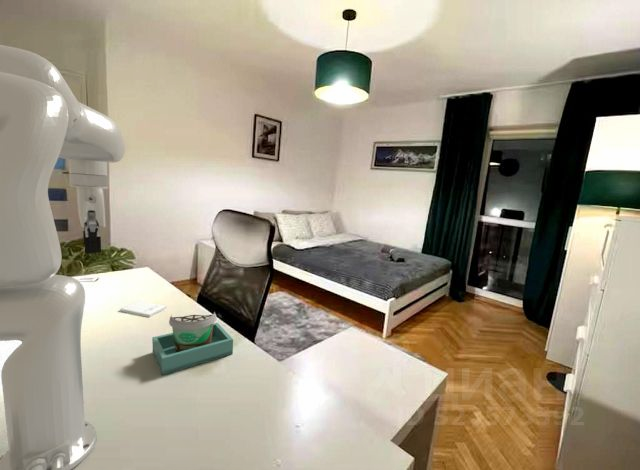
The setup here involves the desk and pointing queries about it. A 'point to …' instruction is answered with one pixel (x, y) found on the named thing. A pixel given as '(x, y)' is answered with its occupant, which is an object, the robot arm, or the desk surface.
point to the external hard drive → (143, 308)
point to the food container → (192, 331)
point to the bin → (190, 351)
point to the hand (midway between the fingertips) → (92, 248)
